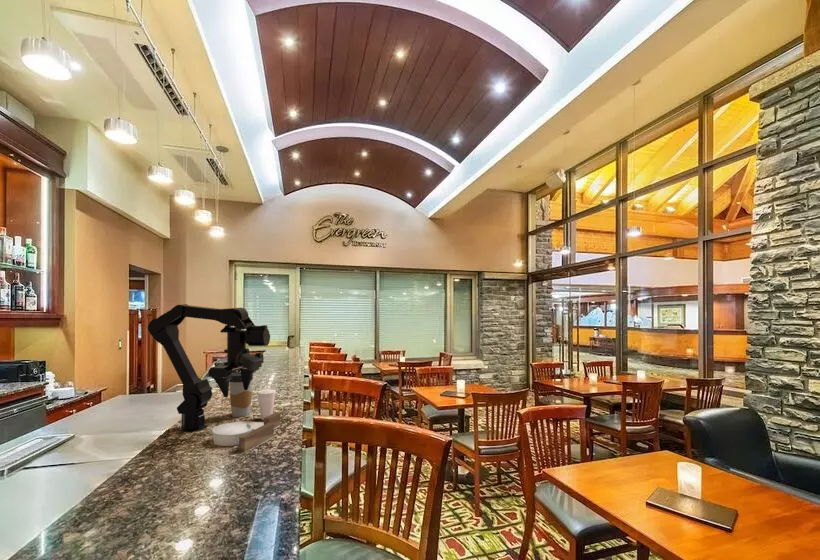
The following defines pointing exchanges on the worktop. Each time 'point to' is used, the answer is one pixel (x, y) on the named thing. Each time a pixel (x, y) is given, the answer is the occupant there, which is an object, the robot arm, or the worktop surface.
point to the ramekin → (230, 433)
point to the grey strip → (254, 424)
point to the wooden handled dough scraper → (256, 437)
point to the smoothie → (266, 401)
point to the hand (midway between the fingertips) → (236, 393)
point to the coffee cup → (239, 396)
